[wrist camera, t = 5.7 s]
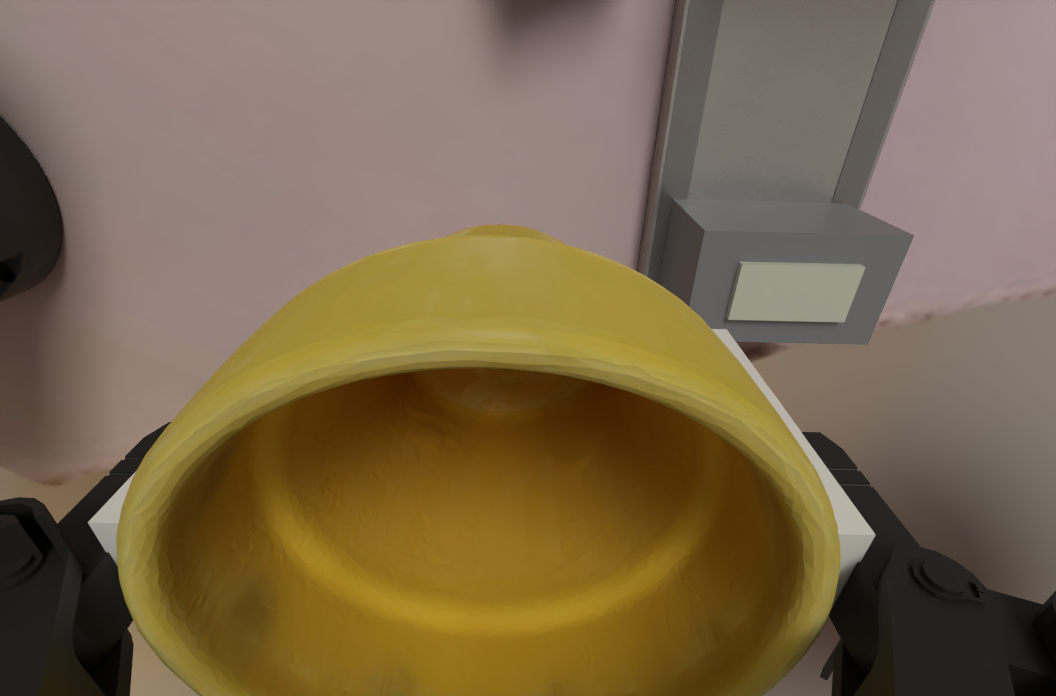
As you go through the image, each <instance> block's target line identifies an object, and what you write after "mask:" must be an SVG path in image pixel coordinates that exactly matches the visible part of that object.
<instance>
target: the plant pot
mask: <svg viewBox="0 0 1056 696" xmlns="http://www.w3.org/2000/svg"><path fill="white" fill-rule="evenodd" d="M116 546H117V565H118V573H119V581H120V585H121V588H122V592H123V595H124V599H125V602H126V605H127V607H128V609H129V612H130V614H131V616H132V618H133V620H134V623H135V625H136V627H137V629H138V631H139V632H140V634H141V635H142V636H143V638H144V639H145V640H146V642H147V643H148V645H149V646H150V647H151V648H152V650H153V651H154V652H155V653H156V655H157V656H158V657H159V658H160V660H161V661H162V662H163V663H164V664H165V665H166V666H167V667H168V668H169V669H170V670H171V671H172V672H174V674H176V675H177V676H178V677H179V678H180V679H181V680H182V681H183V682H184V683H185V684H187V685H188V686H189V687H190V688H191V689H192V690H194V691H195V692H196V693H197V694H198V695H200V696H762V695H764V694H765V693H766V692H768V691H769V690H770V689H771V688H773V687H774V686H775V685H776V684H777V683H778V682H779V681H780V680H781V679H783V677H785V675H786V674H787V673H788V672H789V671H790V670H791V669H792V668H793V667H794V666H795V665H796V664H797V663H798V662H799V661H800V660H801V658H802V657H803V656H804V655H805V654H806V652H807V651H808V650H809V648H810V647H811V645H812V644H813V643H814V641H815V639H816V638H817V636H818V635H819V633H820V632H821V630H822V628H823V626H824V624H825V622H826V620H827V618H828V616H829V613H830V611H831V607H832V604H833V600H834V597H835V594H836V588H837V583H838V578H839V572H840V560H841V556H840V542H839V536H838V526H837V523H836V520H835V517H834V511H833V508H832V505H831V502H830V499H829V497H828V495H827V492H826V490H825V488H824V486H823V484H822V481H821V479H820V477H819V475H818V473H817V471H816V469H815V468H814V466H813V465H812V463H811V461H810V460H809V458H808V457H807V455H806V454H805V452H804V451H803V449H802V448H801V446H800V445H799V443H798V442H797V440H796V439H795V437H794V436H793V434H792V433H791V431H790V430H789V428H788V427H787V426H786V424H785V423H784V421H783V420H782V418H781V417H780V415H779V414H778V413H777V411H776V410H775V408H774V407H773V406H772V404H771V403H770V402H769V400H768V399H767V398H766V396H765V395H764V394H763V392H762V391H761V390H760V388H759V387H758V386H757V384H756V383H755V382H754V380H753V379H752V378H751V376H750V375H749V374H748V372H747V371H746V370H745V368H744V367H743V366H742V364H741V363H740V361H739V360H738V359H737V358H736V357H735V356H734V354H733V353H732V352H731V351H730V350H729V349H728V347H727V346H726V345H725V344H724V343H723V342H722V340H721V339H720V338H719V337H718V336H717V335H716V334H715V333H714V331H713V330H712V329H711V328H710V327H709V326H708V325H707V324H706V322H705V321H704V320H703V319H702V318H701V317H700V316H699V315H698V314H697V313H696V312H694V311H693V310H692V309H691V308H690V307H689V306H688V305H686V304H685V303H684V302H683V301H682V300H681V299H680V298H678V297H677V296H675V295H674V294H672V293H671V292H670V291H668V290H667V289H665V288H664V287H662V286H661V285H659V284H658V283H656V282H654V281H653V280H651V279H649V278H648V277H646V276H644V275H643V274H641V273H639V272H637V271H635V270H633V269H631V268H629V267H627V266H625V265H623V264H620V263H618V262H616V261H613V260H611V259H608V258H606V257H603V256H600V255H598V254H595V253H592V252H589V251H586V250H583V249H580V248H576V247H572V246H568V245H566V244H564V243H563V242H561V241H559V240H557V239H556V238H554V237H551V236H549V235H547V234H545V233H542V232H540V231H537V230H533V229H529V228H526V227H520V226H514V225H483V226H476V227H472V228H467V229H464V230H461V231H458V232H455V233H453V234H451V235H448V236H446V237H444V238H438V239H432V240H427V241H421V242H415V243H410V244H406V245H403V246H399V247H395V248H391V249H388V250H384V251H381V252H378V253H375V254H372V255H370V256H367V257H365V258H362V259H360V260H358V261H355V262H353V263H351V264H348V265H346V266H344V267H342V268H340V269H338V270H336V271H334V272H332V273H330V274H329V275H327V276H325V277H324V278H322V279H320V280H319V281H317V282H316V283H314V284H312V285H311V286H309V287H308V288H306V289H305V290H304V291H302V292H301V293H300V294H299V295H297V296H296V297H295V298H293V299H292V300H291V301H290V302H288V303H287V304H286V305H285V306H283V307H282V308H281V309H280V310H279V311H278V312H277V313H276V314H274V315H273V316H272V317H271V318H270V319H269V320H268V321H266V322H265V323H264V324H263V325H262V326H261V327H260V328H259V329H258V330H257V331H256V332H255V333H254V334H253V335H252V336H251V337H250V338H249V339H248V340H247V341H246V342H244V343H243V344H242V345H241V346H240V347H239V348H238V349H237V350H236V351H235V352H234V354H233V355H232V356H231V357H230V358H229V359H228V360H227V361H226V362H225V363H224V364H223V365H222V366H221V367H220V368H219V369H218V370H217V371H216V372H215V374H214V375H213V376H212V377H211V378H210V379H209V380H208V381H207V382H206V383H205V384H204V386H203V387H202V388H201V389H200V390H199V391H198V392H197V393H196V395H195V396H194V397H193V398H192V399H191V400H190V401H189V402H188V404H187V405H186V406H185V407H184V408H183V409H182V410H181V411H180V413H179V414H178V415H177V416H176V417H175V418H174V419H173V420H172V422H171V423H170V424H169V425H168V426H167V427H166V429H165V430H164V431H163V433H162V434H161V435H160V436H159V438H158V439H157V440H156V442H155V443H154V444H153V446H152V447H151V448H150V450H149V451H148V452H147V454H146V455H145V457H144V459H143V460H142V462H141V464H140V466H139V467H138V469H137V471H136V473H135V475H134V477H133V478H132V481H131V484H130V486H129V489H128V492H127V495H126V497H125V500H124V503H123V506H122V508H121V513H120V519H119V524H118V528H117V536H116Z"/></svg>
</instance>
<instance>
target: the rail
mask: <svg viewBox="0 0 1056 696" xmlns="http://www.w3.org/2000/svg"><path fill="white" fill-rule="evenodd" d="M934 3H935V0H676V4H675V11H674V18H673V25H672V32H671V39H670V46H669V53H668V60H667V67H666V74H665V81H664V88H663V95H662V102H661V109H660V116H659V123H658V130H657V137H656V144H655V151H654V158H653V165H652V172H651V179H650V186H649V193H648V200H647V207H646V214H645V221H644V228H643V235H642V242H641V249H640V256H639V263H638V270H637V272H639V273H641V274H643V275H644V276H646V277H648V278H649V279H651V280H653V281H654V282H656V283H658V284H659V282H660V276H661V270H662V264H663V259H664V253H665V247H666V241H667V235H668V229H669V223H670V217H671V211H672V205H673V199H679V200H687V199H690V200H731V201H773V202H814V203H846V204H848V205H850V206H852V207H854V208H856V209H858V210H860V208H861V206H862V203H863V200H864V197H865V194H866V192H867V189H868V186H869V183H870V181H871V178H872V175H873V172H874V169H875V167H876V164H877V161H878V158H879V156H880V153H881V150H882V147H883V144H884V142H885V139H886V136H887V133H888V131H889V128H890V125H891V122H892V119H893V117H894V114H895V111H896V108H897V106H898V103H899V100H900V97H901V94H902V92H903V89H904V86H905V83H906V81H907V78H908V75H909V72H910V69H911V67H912V64H913V61H914V58H915V56H916V53H917V50H918V47H919V44H920V42H921V39H922V36H923V33H924V31H925V28H926V25H927V22H928V19H929V17H930V14H931V11H932V8H933V6H934Z"/></svg>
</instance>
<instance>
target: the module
mask: <svg viewBox="0 0 1056 696" xmlns="http://www.w3.org/2000/svg"><path fill="white" fill-rule="evenodd" d="M913 237H914V235H912V234H910V233H908V232H906V231H903V230H901V229H899V228H897V227H895V226H893V225H891V224H888V223H886V222H884V221H882V220H880V219H878V218H876V217H873V216H871V215H869V214H867V213H865V212H863V211H861V210H858V209H856V208H854V207H852V206H850V205H848V204H846V203H814V202H773V201H731V200H690V199H687V200H679V199H673V205H672V211H671V217H670V223H669V229H668V235H667V241H666V247H665V253H664V259H663V264H662V270H661V276H660V282H659V285H661V286H662V287H664V288H665V289H667V290H668V291H670V292H671V293H672V294H674V295H675V296H677V297H678V298H680V299H681V300H682V301H683V302H684V303H685V304H686V305H688V306H689V307H690V308H691V309H692V310H693V311H694V312H696V313H697V314H698V315H699V316H700V317H701V318H702V319H703V320H704V321H705V322H706V324H707V325H708V326H709V327H710V328H711V329H727V330H728V332H729V333H730V335H731V336H732V337H733V339H734V340H735V341H736V342H772V343H819V344H868V342H869V340H870V338H871V335H872V333H873V331H874V328H875V326H876V324H877V321H878V319H879V317H880V314H881V312H882V310H883V307H884V305H885V302H886V300H887V298H888V295H889V293H890V291H891V288H892V286H893V284H894V281H895V279H896V277H897V274H898V272H899V270H900V267H901V265H902V263H903V260H904V258H905V256H906V253H907V251H908V248H909V246H910V244H911V241H912V239H913Z"/></svg>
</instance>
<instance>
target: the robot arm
mask: <svg viewBox="0 0 1056 696" xmlns="http://www.w3.org/2000/svg"><path fill="white" fill-rule="evenodd" d="M60 245H61V225H60V218H59V213H58V209H57V205H56V202H55V199H54V196H53V193H52V191H51V189H50V186H49V184H48V182H47V180H46V178H45V176H44V174H43V172H42V170H41V169H40V167H39V165H38V164H37V162H36V160H35V159H34V157H33V156H32V154H31V153H30V151H29V150H28V149H27V147H26V146H25V145H24V143H23V142H22V141H21V139H20V138H19V137H18V136H17V134H16V133H15V132H14V131H13V130H12V129H11V127H10V126H9V125H8V124H7V123H6V122H5V121H4V120H3V119H2V118H1V117H0V302H1V301H4V300H6V299H8V298H10V297H12V296H14V295H17V294H19V293H21V292H23V291H25V290H27V289H29V288H32V287H33V286H35V285H37V284H38V283H39V282H41V281H42V280H43V279H44V278H45V277H46V276H47V275H48V274H49V272H50V271H51V270H52V268H53V266H54V265H55V262H56V260H57V257H58V254H59V250H60ZM712 330H713V331H714V333H715V334H716V335H717V336H718V337H719V338H720V339H721V340H722V342H723V343H724V344H725V345H726V346H727V347H728V349H729V350H730V351H731V352H732V353H733V354H734V356H735V357H736V358H737V359H738V360H739V361H740V363H741V364H742V366H743V367H744V368H745V370H746V371H747V372H748V374H749V375H750V376H751V378H752V379H753V380H754V382H755V383H756V384H757V386H758V387H759V388H760V390H761V391H762V392H763V394H764V395H765V396H766V398H767V399H768V400H769V402H770V403H771V404H772V406H773V407H774V408H775V410H776V411H777V413H778V414H779V415H780V417H781V418H782V420H783V421H784V423H785V424H786V426H787V427H788V428H789V430H790V431H791V433H792V434H793V436H794V437H795V439H796V440H797V442H798V443H799V445H800V446H801V448H802V449H803V451H804V452H805V454H806V455H807V457H808V458H809V460H810V461H811V463H812V465H813V466H814V468H815V469H816V471H817V473H818V475H819V477H820V479H821V481H822V484H823V486H824V488H825V490H826V492H827V495H828V497H829V499H830V502H831V505H832V508H833V511H834V517H835V520H836V523H837V526H838V536H839V542H840V556H841V560H840V572H839V578H838V583H837V588H836V594H835V597H834V600H833V604H832V607H831V611H830V613H829V616H828V618H827V620H828V619H829V617H830V619H831V621H832V623H833V624H834V626H835V628H836V630H837V632H838V634H839V636H840V638H841V639H840V640H839V642H838V644H837V646H836V647H835V649H834V650H833V652H832V654H831V655H830V657H829V658H828V660H827V662H826V663H825V665H824V667H823V670H822V672H821V675H820V677H821V678H823V679H825V680H827V679H828V678H829V676H830V674H831V673H832V671H833V681H832V696H1056V591H1055V592H1054V593H1053V594H1052V596H1050V598H1049V599H1048V600H1047V601H1046V602H1045V603H1044V604H1039V603H1035V602H1032V601H1028V600H1024V599H1021V598H1017V597H1013V596H1010V595H1006V594H1002V593H999V592H995V591H992V590H988V589H986V588H985V586H984V585H983V584H982V583H981V582H980V581H979V580H978V579H977V578H976V577H975V575H974V574H973V573H971V572H970V571H968V570H967V569H966V568H964V567H963V566H962V565H960V564H959V563H957V562H956V561H955V560H953V559H951V558H949V557H946V556H944V555H942V554H940V553H938V552H936V551H933V550H929V549H925V548H921V547H920V545H919V544H918V543H917V542H916V540H915V539H914V538H913V537H912V535H911V534H910V533H909V532H908V530H907V529H906V528H905V527H904V525H903V524H902V523H901V522H900V520H899V519H898V518H897V517H896V515H895V514H894V513H893V512H892V510H891V509H890V508H889V507H888V505H887V504H886V503H885V502H884V500H883V499H882V498H881V497H880V495H879V494H878V493H877V492H876V490H875V489H874V488H873V487H870V483H869V481H868V480H867V479H866V478H865V476H864V475H863V474H862V473H861V472H860V471H858V470H857V467H856V465H855V464H854V463H853V462H852V460H851V459H850V458H849V457H848V455H847V454H846V453H845V452H844V450H843V449H842V448H840V447H839V446H838V445H836V444H835V443H834V442H832V441H831V440H830V439H828V438H827V437H826V436H824V435H823V434H821V433H820V432H801V431H800V430H799V428H798V427H797V426H796V424H795V423H794V422H793V420H792V419H791V417H790V416H789V415H788V413H787V412H786V411H785V409H784V408H783V406H782V405H781V404H780V402H779V401H778V399H777V398H776V397H775V395H774V394H773V392H772V391H771V390H770V388H769V387H768V386H767V384H766V383H765V382H764V380H763V379H762V377H761V376H760V375H759V373H758V372H757V370H756V369H755V368H754V366H753V365H752V364H751V362H750V361H749V359H748V358H747V357H746V355H745V354H744V352H743V351H742V350H741V348H740V347H739V346H738V344H737V343H736V341H735V340H734V339H733V337H732V336H731V335H730V333H729V332H728V330H727V329H712ZM170 423H171V422H169V423H167V424H165V425H164V426H162V427H161V428H159V429H157V430H156V431H154V432H152V433H151V434H149V435H147V436H146V437H144V438H143V439H142V440H141V441H140V442H139V443H138V444H137V445H136V446H135V447H134V448H133V449H132V450H131V451H130V452H129V453H128V454H127V455H126V456H125V460H121V461H120V462H119V463H118V464H117V465H116V466H115V467H114V468H113V469H112V470H111V471H110V475H109V476H105V477H104V478H103V479H102V480H101V481H100V482H99V483H98V484H97V485H96V486H95V487H94V488H93V489H92V490H91V491H90V492H89V493H88V494H87V495H86V496H85V497H84V498H83V499H82V500H81V501H80V502H79V503H78V504H77V505H76V506H75V507H74V508H73V509H72V510H71V511H70V512H69V513H68V514H67V515H66V516H65V517H64V518H63V519H62V520H61V521H60V522H59V523H58V524H57V523H56V521H55V520H54V519H53V517H52V515H51V514H50V512H49V511H48V509H47V508H46V506H45V505H44V504H43V503H41V502H40V501H38V500H36V499H35V498H20V497H19V498H13V499H8V500H3V501H0V696H130V685H131V671H132V658H133V641H132V636H131V634H130V632H129V631H128V629H127V628H128V627H129V626H130V624H131V622H132V621H133V618H132V616H131V614H130V612H129V609H128V607H127V605H126V602H125V599H124V595H123V592H122V588H121V585H120V581H119V573H118V565H117V546H116V536H117V528H118V524H119V519H120V513H121V508H122V506H123V503H124V500H125V497H126V495H127V492H128V489H129V486H130V484H131V481H132V478H133V477H134V475H135V473H136V471H137V469H138V467H139V466H140V464H141V462H142V460H143V459H144V457H145V455H146V454H147V452H148V451H149V450H150V448H151V447H152V446H153V444H154V443H155V442H156V440H157V439H158V438H159V436H160V435H161V434H162V433H163V431H164V430H165V429H166V427H167V426H168V425H169V424H170ZM827 620H826V622H827ZM826 622H825V624H826ZM825 624H824V626H825ZM824 626H823V628H824ZM823 628H822V629H823ZM821 631H822V630H821ZM820 633H821V632H820ZM820 633H819V635H820ZM819 635H818V636H819ZM818 636H817V637H818Z"/></svg>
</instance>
